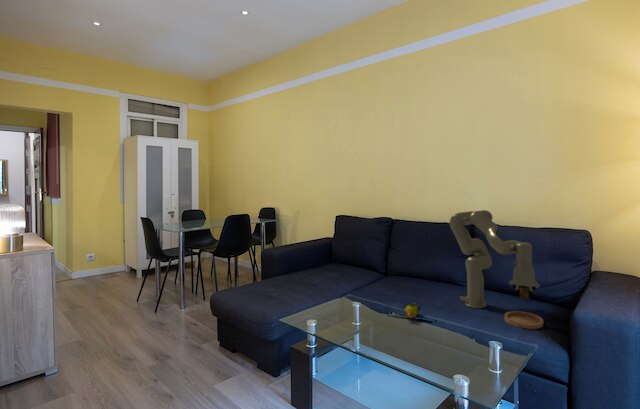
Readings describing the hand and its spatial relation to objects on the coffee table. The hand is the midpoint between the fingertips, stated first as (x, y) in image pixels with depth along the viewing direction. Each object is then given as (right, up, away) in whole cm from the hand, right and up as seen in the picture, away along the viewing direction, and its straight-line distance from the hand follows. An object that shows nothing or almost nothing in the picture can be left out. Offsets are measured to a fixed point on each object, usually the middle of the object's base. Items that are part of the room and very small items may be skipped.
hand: (524, 296), depth 189 cm
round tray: (0, -14, +1) cm, 14 cm away
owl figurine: (-58, -16, +14) cm, 62 cm away
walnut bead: (0, -1, 0) cm, 1 cm away
